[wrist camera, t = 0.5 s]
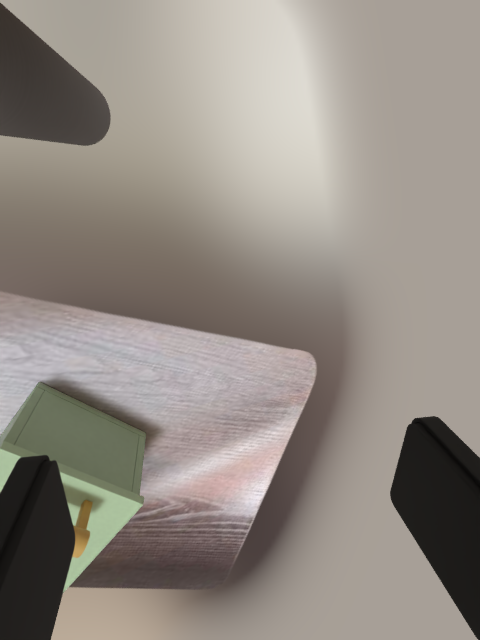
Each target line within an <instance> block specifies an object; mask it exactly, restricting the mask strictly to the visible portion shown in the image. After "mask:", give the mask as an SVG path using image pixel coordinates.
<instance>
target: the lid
mask: <svg viewBox="0 0 480 640" xmlns="http://www.w3.org/2000/svg"><path fill="white" fill-rule="evenodd" d="M30 456H40V455H38V454H35V453H33V452H30V451H28V450H25V449H23V448H20V447H18V446H15V445H13V444H10V443H8V442H6V441H4V442H3V443H2V445H1V446H0V493H1V491H2V489H3V487H4V485H5V483H6V481H7V479H8V477H9V475H10V474H11V472H12V470H13V468H14V466H15V464H16V462H17V461H18V459H20V458H21V457H30ZM50 461H52V460H50ZM57 464H58V467H59V471H60V475H61V479H62V483H63V487H64V491H65V495H66V499H67V503H68V507H69V511H70V515H71V519H72V523H73V527H74V531H75V547H74V552H73V556H72V560H71V563H70V567H69V571H68V575H67V579H66V583H65V586H64V590H63V593H64V591H65V590H66V589H67V588H68V587H69V586H70V585H71V584H72V583H73V582H74V580H75V579H76V578H77V577H78V576H79V575H80V574H81V573H82V572H83V571H84V569H85V568H86V567H87V566H88V565H89V564H90V563H91V562H92V561H93V559H94V558H95V557H96V556H97V555H98V554H99V553H100V552H101V551H102V550H103V548H104V547H105V546H106V545H107V544H108V543H109V542H110V541H111V540H112V539H113V537H114V536H115V535H116V534H117V533H118V532H119V531H120V530H121V529H122V527H123V526H124V525H125V524H126V523H127V522H128V521H129V520H130V519H131V518H132V516H133V515H134V514H135V513H136V512H137V511H138V510H139V509H140V508H141V507H142V505H143V502H144V497H143V496H140V495H138V494H135V493H133V492H130V491H128V490H125V489H123V488H120V487H118V486H115V485H113V484H110V483H108V482H105V481H103V480H100V479H98V478H95V477H93V476H90V475H88V474H85V473H83V472H80V471H78V470H75V469H73V468H70V467H68V466H65V465H63V464H60V463H58V462H57Z"/></svg>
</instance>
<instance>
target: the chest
mask: <svg viewBox="0 0 480 640" xmlns="http://www.w3.org/2000/svg"><path fill="white" fill-rule="evenodd" d="M145 437H146V433H145V432H143V431H141V430H139V429H136V428H134V427H132V426H130V425H128V424H126V423H124V422H122V421H120V420H118V419H116V418H114V417H111V416H109V415H107V414H105V413H103V412H101V411H99V410H97V409H95V408H93V407H91V406H89V405H86V404H84V403H82V402H80V401H78V400H76V399H74V398H72V397H70V396H68V395H66V394H63V393H61V392H59V391H57V390H55V389H53V388H51V387H49V386H47V385H45V384H43V383H41V382H39V383H38V384H37V385H36V387H35V388H34V390H33V391H32V392H31V394H30V395H29V397H28V398H27V399H26V401H25V402H24V404H23V405H22V406H21V408H20V409H19V411H18V412H17V413H16V415H15V416H14V418H13V419H12V420H11V422H10V423H9V425H8V426H7V427H6V429H5V430H4V432H3V433H2V434H1V436H0V446H1V445H2V443H3V442H4V441H6V442H8V443H10V444H13V445H15V446H18V447H20V448H23V449H25V450H28V451H30V452H33V453H35V454H38V455H47V456H48V457H49V459H50V460H56V461H57V462H58V463H60V464H63V465H65V466H68V467H70V468H73V469H75V470H78V471H80V472H83V473H85V474H88V475H90V476H93V477H95V478H98V479H100V480H103V481H105V482H108V483H110V484H113V485H115V486H118V487H120V488H123V489H125V490H128V491H130V492H133V493H135V494H138V495H140V485H141V476H142V466H143V457H144V448H145Z"/></svg>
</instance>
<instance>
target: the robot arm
mask: <svg viewBox="0 0 480 640" xmlns="http://www.w3.org/2000/svg"><path fill="white" fill-rule="evenodd" d="M390 496H391V500H392V503H393V505H394V507H395V508H396V510H397V511H398V513H399V515H400V516H401V518H402V520H403V521H404V523H405V524H406V526H407V528H408V529H409V531H410V532H411V534H412V535H413V537H414V538H415V540H416V542H417V543H418V545H419V546H420V548H421V550H422V551H423V553H424V555H425V556H426V558H427V559H428V561H429V563H430V564H431V566H432V567H433V569H434V571H435V572H436V574H437V575H438V577H439V578H440V580H441V582H442V583H443V585H444V587H445V588H446V590H447V591H448V593H449V595H450V596H451V598H452V599H453V601H454V603H455V604H456V606H457V607H458V609H459V611H460V612H461V614H462V615H463V617H464V619H465V620H466V622H467V623H468V625H469V627H470V628H471V630H472V631H473V633H474V635H475V636H476V637H477V639H478V640H480V458H479V457H478V456H477V455H476V454H475V453H474V452H473V451H472V450H471V449H470V448H469V447H468V446H467V445H466V444H465V443H464V442H463V441H462V440H461V439H460V438H459V437H458V436H457V435H456V434H455V433H454V432H453V431H452V430H450V428H449V427H448V426H447V425H446V424H445V423H444V422H443V421H442V420H441V419H439V418H438V417H435V416H433V417H423V418H415V419H414V420H413V421H412V423H411V424H409V425H408V427H407V430H406V434H405V438H404V442H403V446H402V449H401V453H400V457H399V461H398V465H397V468H396V472H395V476H394V480H393V483H392V487H391V491H390ZM74 547H75V531H74V527H73V523H72V519H71V515H70V511H69V507H68V503H67V499H66V495H65V491H64V487H63V483H62V479H61V475H60V471H59V467H58V464H57V461H56V460H52V461H50V459H49V457H48V456H47V455H40V456H30V457H21V458H20V459H18V461H17V462H16V464H15V466H14V468H13V470H12V472H11V474H10V475H9V477H8V479H7V481H6V483H5V485H4V487H3V489H2V491H1V493H0V640H51V636H52V632H53V629H54V625H55V621H56V617H57V613H58V609H59V605H60V602H61V598H62V594H63V590H64V586H65V583H66V579H67V575H68V571H69V567H70V563H71V560H72V556H73V552H74Z"/></svg>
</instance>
